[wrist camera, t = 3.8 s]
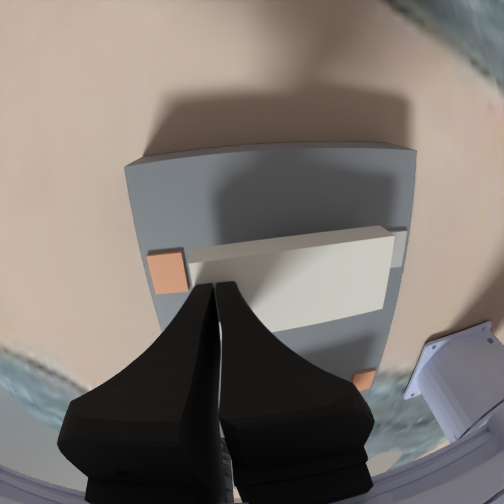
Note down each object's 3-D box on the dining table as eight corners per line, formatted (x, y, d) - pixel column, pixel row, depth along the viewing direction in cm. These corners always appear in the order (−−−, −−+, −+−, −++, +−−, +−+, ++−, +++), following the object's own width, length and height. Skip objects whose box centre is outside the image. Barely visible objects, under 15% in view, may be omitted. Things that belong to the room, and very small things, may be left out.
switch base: (386, 142, 15) (423, 152, 11) (351, 388, 23) (364, 420, 20) (142, 157, 14) (119, 169, 11) (201, 409, 22) (201, 445, 19)
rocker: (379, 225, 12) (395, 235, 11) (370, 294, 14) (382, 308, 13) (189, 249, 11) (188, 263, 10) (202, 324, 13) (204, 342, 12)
